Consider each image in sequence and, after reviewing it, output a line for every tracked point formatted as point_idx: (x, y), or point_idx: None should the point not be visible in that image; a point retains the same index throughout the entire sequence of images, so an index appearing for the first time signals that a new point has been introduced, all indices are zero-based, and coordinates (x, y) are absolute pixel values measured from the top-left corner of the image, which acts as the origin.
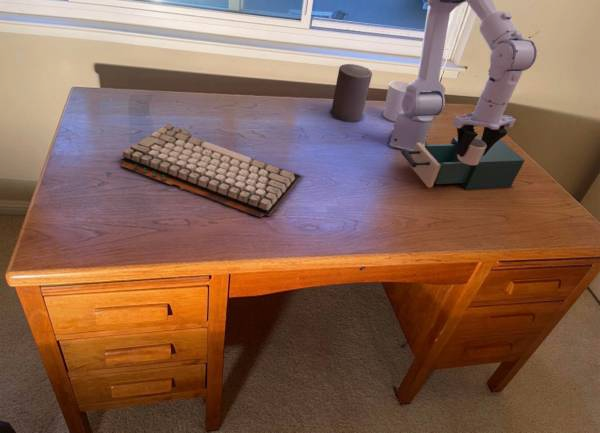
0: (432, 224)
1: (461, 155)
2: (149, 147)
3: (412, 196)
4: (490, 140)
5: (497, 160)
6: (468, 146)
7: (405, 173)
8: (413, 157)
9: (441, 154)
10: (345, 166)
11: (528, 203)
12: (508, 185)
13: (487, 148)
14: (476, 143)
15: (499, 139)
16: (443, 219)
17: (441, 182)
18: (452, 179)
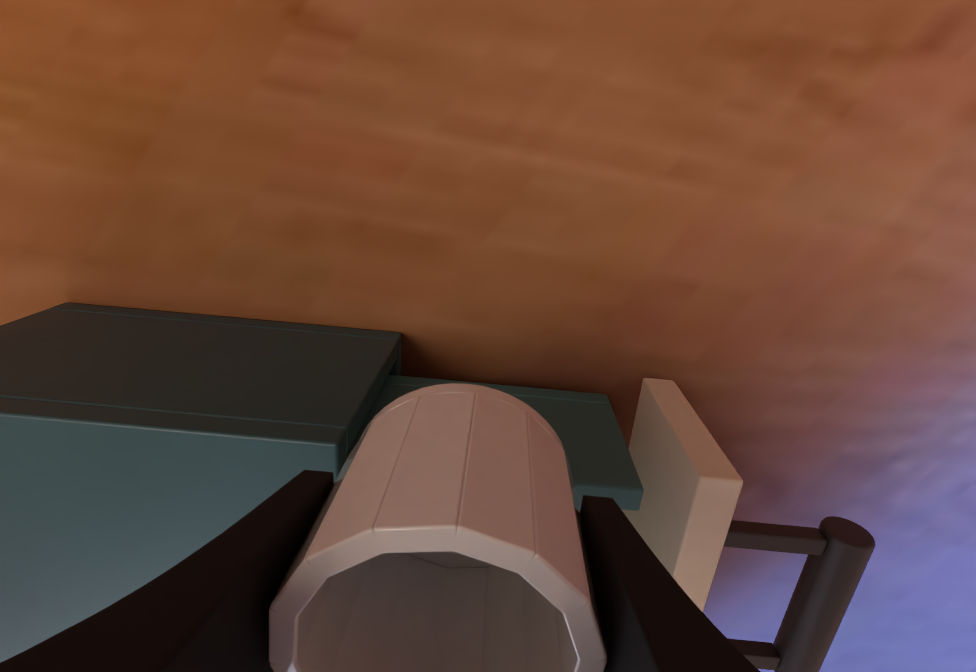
0: (903, 40)
1: (619, 508)
2: None
3: (800, 337)
4: (203, 661)
5: (115, 435)
6: (635, 601)
7: None
8: None
9: None
10: (966, 622)
11: (19, 117)
12: (78, 308)
13: (277, 533)
14: (347, 647)
15: (15, 656)
16: (780, 77)
17: (573, 396)
18: None
